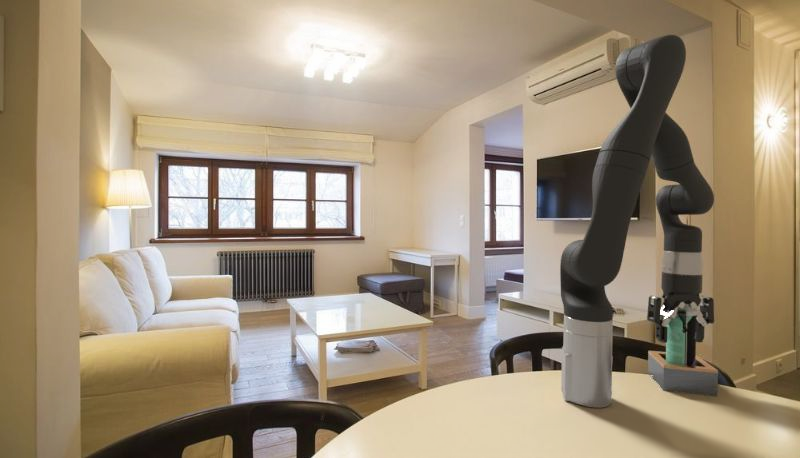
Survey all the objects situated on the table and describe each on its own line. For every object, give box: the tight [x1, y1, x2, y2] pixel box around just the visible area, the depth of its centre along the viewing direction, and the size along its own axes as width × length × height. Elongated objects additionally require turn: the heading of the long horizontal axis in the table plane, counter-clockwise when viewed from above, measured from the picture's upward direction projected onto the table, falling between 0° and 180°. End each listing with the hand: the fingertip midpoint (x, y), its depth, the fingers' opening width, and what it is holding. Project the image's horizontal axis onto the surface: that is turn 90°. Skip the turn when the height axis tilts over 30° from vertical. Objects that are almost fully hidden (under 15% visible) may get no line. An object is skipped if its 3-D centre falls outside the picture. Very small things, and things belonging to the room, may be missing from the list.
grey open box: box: [647, 350, 719, 397], centre depth 87 cm, size 10×10×6 cm
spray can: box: [665, 302, 697, 366], centre depth 87 cm, size 6×6×20 cm
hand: (679, 341), depth 87 cm, fingers open, 8 cm apart
